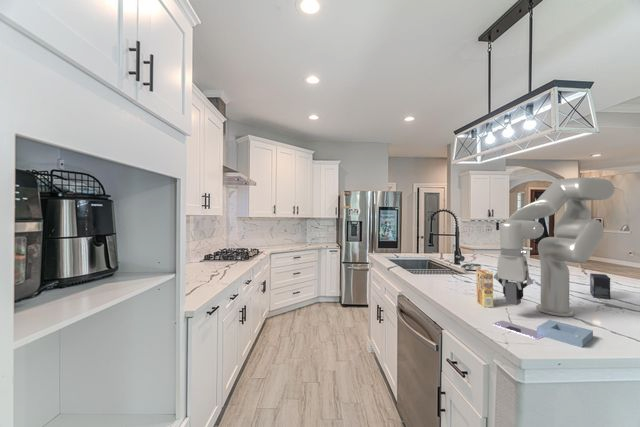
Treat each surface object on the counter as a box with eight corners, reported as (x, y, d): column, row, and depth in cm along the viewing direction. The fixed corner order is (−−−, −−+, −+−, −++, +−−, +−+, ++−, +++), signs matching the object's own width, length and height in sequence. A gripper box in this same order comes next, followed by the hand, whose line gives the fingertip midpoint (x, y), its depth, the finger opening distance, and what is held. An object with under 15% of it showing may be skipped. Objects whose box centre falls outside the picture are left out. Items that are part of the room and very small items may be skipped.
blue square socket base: (549, 326, 108) (549, 319, 108) (592, 337, 98) (593, 329, 98) (536, 334, 101) (536, 326, 101) (582, 347, 91) (582, 338, 91)
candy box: (493, 307, 129) (493, 273, 129) (483, 307, 129) (483, 272, 129) (485, 301, 138) (485, 269, 137) (475, 301, 138) (476, 269, 138)
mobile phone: (536, 338, 96) (490, 323, 109) (536, 341, 96) (490, 325, 109) (547, 333, 100) (502, 319, 113) (547, 336, 100) (502, 321, 113)
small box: (589, 292, 153) (589, 272, 153) (606, 294, 149) (606, 274, 149) (592, 297, 144) (592, 276, 144) (611, 299, 140) (611, 278, 140)
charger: (510, 300, 121) (509, 280, 120) (521, 302, 117) (520, 282, 117) (505, 302, 118) (505, 282, 118) (516, 305, 115) (516, 284, 115)
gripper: (539, 253, 113) (541, 300, 113) (493, 249, 126) (495, 291, 127) (532, 255, 108) (533, 304, 109) (485, 251, 122) (487, 294, 122)
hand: (513, 297), depth 118 cm, fingers closed on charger, 4 cm apart
